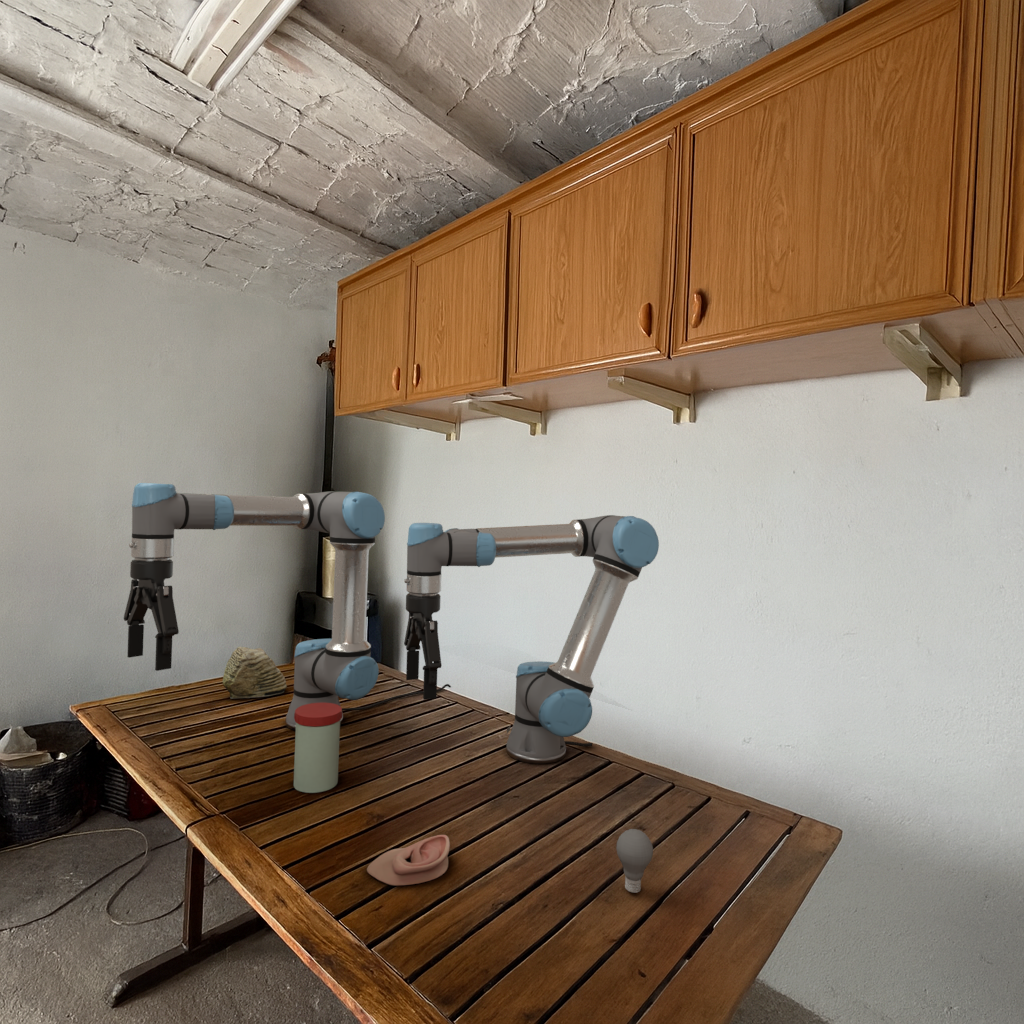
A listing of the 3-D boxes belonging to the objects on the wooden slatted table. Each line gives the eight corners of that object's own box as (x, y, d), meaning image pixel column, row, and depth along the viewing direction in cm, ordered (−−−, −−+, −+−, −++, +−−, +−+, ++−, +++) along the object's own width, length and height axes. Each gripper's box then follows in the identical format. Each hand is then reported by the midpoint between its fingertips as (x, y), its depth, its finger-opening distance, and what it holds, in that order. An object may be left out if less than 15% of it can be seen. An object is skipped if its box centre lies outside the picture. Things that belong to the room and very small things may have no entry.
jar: (287, 780, 141) (289, 709, 140) (327, 770, 147) (330, 702, 146) (302, 796, 133) (305, 722, 133) (344, 785, 139) (347, 714, 139)
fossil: (218, 695, 195) (220, 647, 195) (278, 685, 208) (279, 640, 207) (228, 703, 189) (230, 653, 188) (289, 692, 201) (290, 645, 201)
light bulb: (610, 879, 108) (613, 822, 108) (644, 879, 109) (647, 822, 109) (619, 902, 102) (622, 840, 102) (655, 901, 103) (658, 840, 103)
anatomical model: (359, 856, 105) (387, 822, 116) (358, 879, 105) (386, 843, 116) (435, 869, 102) (456, 833, 114) (434, 893, 103) (455, 855, 114)
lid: (287, 715, 140) (287, 707, 140) (331, 708, 147) (331, 699, 147) (304, 729, 133) (304, 720, 133) (349, 721, 139) (349, 712, 139)
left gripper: (108, 554, 134) (104, 654, 134) (159, 565, 118) (155, 678, 119) (146, 552, 140) (143, 648, 140) (199, 563, 124) (195, 671, 124)
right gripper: (392, 584, 149) (390, 673, 150) (423, 604, 126) (420, 709, 127) (423, 583, 152) (421, 670, 153) (458, 603, 129) (455, 705, 130)
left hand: (148, 662), depth 129 cm, fingers open, 13 cm apart
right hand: (420, 688), depth 140 cm, fingers open, 13 cm apart
